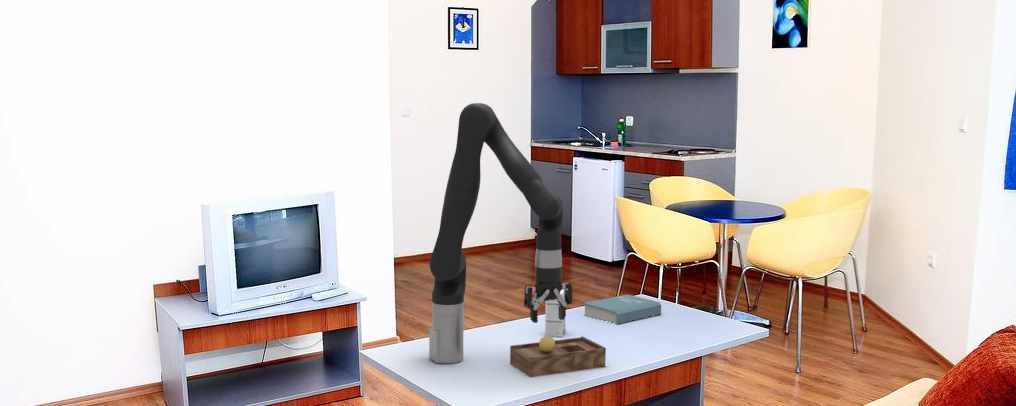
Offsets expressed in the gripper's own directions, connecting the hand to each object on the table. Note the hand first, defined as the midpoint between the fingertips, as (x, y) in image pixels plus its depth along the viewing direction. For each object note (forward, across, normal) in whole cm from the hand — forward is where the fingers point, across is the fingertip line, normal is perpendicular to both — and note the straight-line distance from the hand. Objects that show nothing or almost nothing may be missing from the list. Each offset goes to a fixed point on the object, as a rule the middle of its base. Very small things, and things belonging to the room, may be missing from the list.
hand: (548, 320), depth 253 cm
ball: (+7, 0, 0) cm, 7 cm away
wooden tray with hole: (+14, +3, 0) cm, 14 cm away
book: (+14, +52, +43) cm, 69 cm away
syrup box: (+14, +18, +30) cm, 37 cm away
